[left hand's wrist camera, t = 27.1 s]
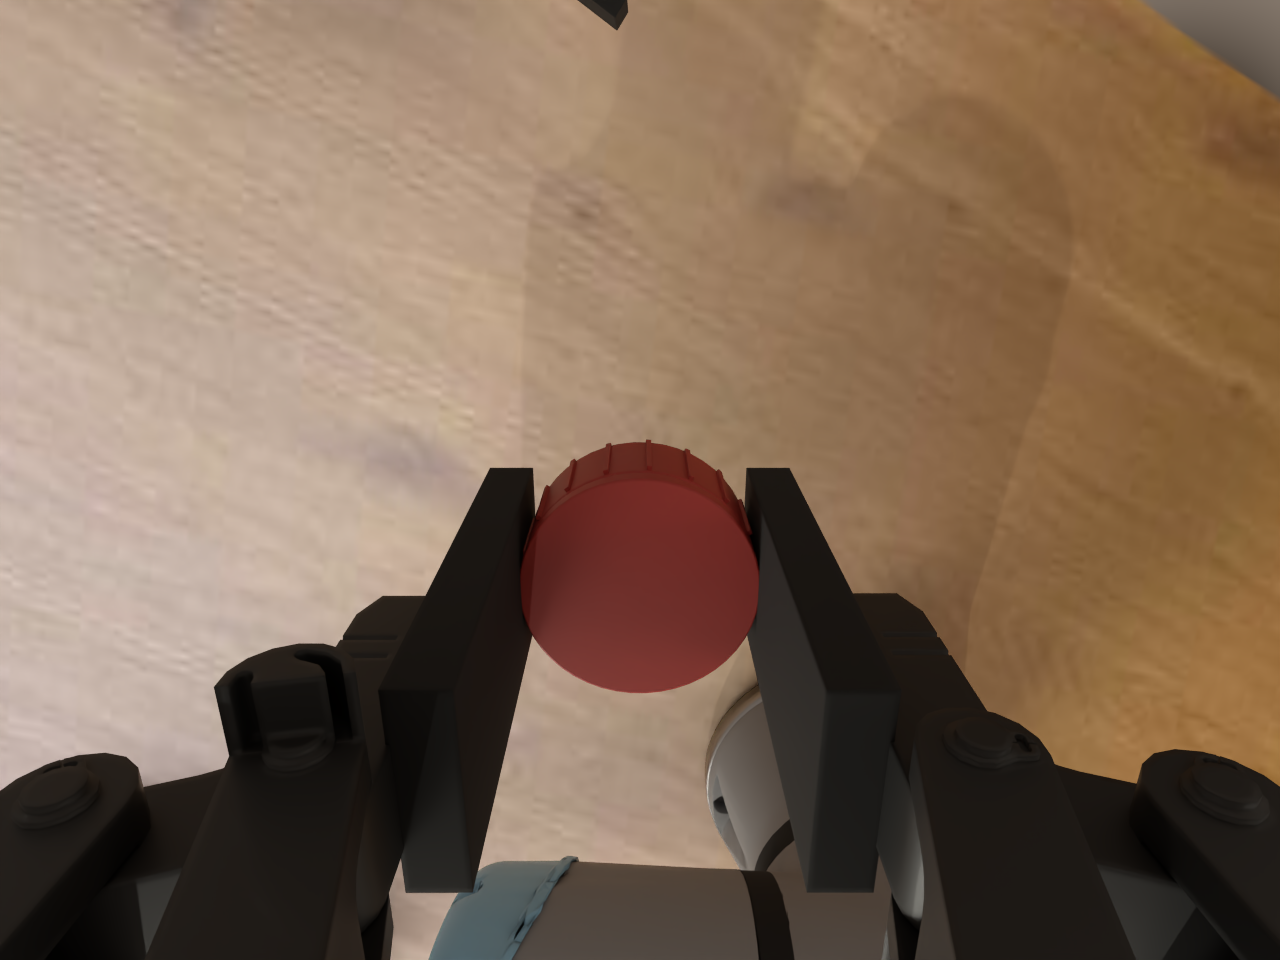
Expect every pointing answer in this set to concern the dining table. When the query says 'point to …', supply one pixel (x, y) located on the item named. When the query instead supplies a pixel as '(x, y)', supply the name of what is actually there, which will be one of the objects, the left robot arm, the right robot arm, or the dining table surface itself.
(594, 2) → the right robot arm
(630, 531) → the cap
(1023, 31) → the dining table surface
